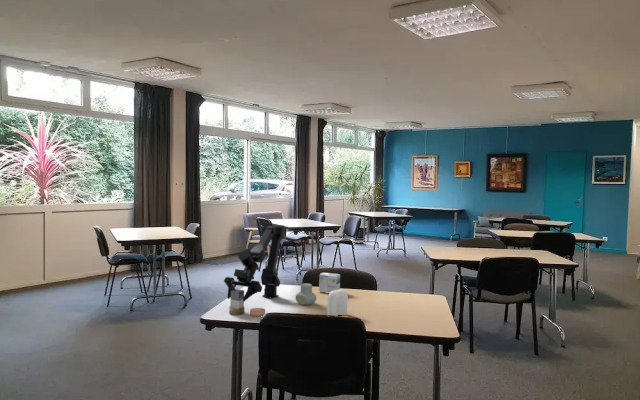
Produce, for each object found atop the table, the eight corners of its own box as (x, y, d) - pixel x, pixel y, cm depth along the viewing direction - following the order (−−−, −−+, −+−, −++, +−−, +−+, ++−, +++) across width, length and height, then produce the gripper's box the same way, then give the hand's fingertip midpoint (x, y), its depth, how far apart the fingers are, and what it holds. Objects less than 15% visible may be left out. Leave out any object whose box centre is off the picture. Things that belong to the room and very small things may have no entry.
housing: (235, 305, 208) (236, 289, 208) (243, 307, 207) (244, 290, 206) (230, 308, 204) (230, 291, 204) (238, 309, 202) (239, 292, 202)
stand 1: (237, 309, 210) (237, 304, 210) (247, 312, 206) (247, 307, 206) (226, 312, 205) (226, 307, 205) (236, 316, 201) (236, 310, 200)
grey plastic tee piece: (292, 303, 225) (293, 284, 225) (302, 300, 232) (303, 281, 232) (309, 307, 219) (309, 287, 218) (318, 304, 225) (319, 285, 225)
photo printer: (343, 312, 213) (344, 287, 212) (348, 315, 209) (349, 289, 208) (325, 315, 207) (326, 289, 206) (330, 318, 203) (332, 292, 203)
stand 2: (257, 311, 208) (257, 306, 208) (268, 315, 204) (268, 309, 204) (246, 315, 202) (246, 310, 202) (257, 318, 198) (257, 313, 198)
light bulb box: (339, 292, 251) (340, 274, 250) (336, 295, 245) (336, 276, 244) (322, 290, 255) (323, 271, 254) (318, 292, 248) (319, 274, 248)
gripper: (226, 260, 212) (212, 287, 202) (260, 264, 205) (246, 293, 195) (235, 273, 219) (221, 300, 209) (267, 278, 212) (255, 306, 202)
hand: (235, 299), depth 204 cm, fingers open, 8 cm apart
